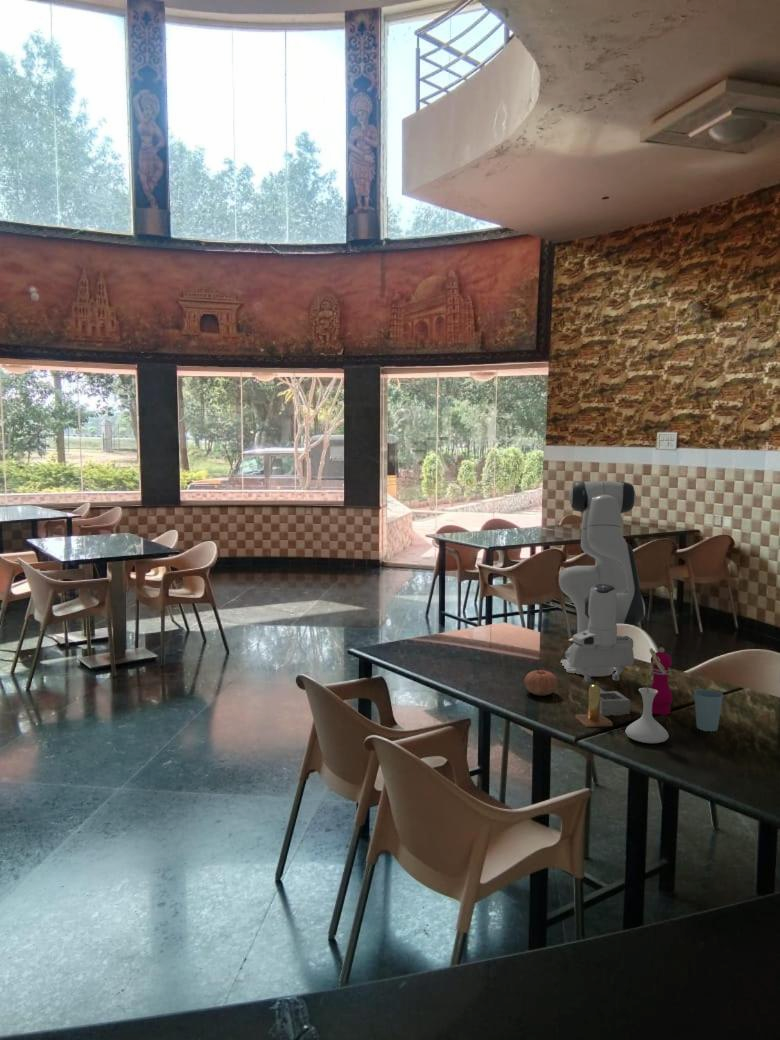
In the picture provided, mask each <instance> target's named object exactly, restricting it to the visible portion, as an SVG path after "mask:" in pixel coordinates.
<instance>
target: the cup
mask: <svg viewBox="0 0 780 1040" xmlns="http://www.w3.org/2000/svg"><path fill="white" fill-rule="evenodd" d="M693 696H694V706H695V707H694V709H695V721H696V722H695V723H696V728H697V729H698V730H699V729H700V731H702V730H703V731H702V732H707V731H711V732H710V733H715V732H717V731H718V729H719V722H720V717H721V711H722V703H723V699H724V698H723V697H724V693H722V692H721V691H717V690H713V689H707V688H706V689H704V688H702V689H695V690H694V691H693ZM712 731H713V732H712ZM714 731H715V732H714Z"/></svg>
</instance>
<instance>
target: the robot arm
mask: <svg viewBox="0 0 780 1040" xmlns="http://www.w3.org/2000/svg"><path fill="white" fill-rule="evenodd" d="M568 499H569V503H570V506H571V508H572V509H573V510H574V511H576V512H580V513H581V514H583V515H582V520H581V521H582V522H581V531H580V532H581V533H580V536H581V537H580V548H581V550H582V551H583V552H584V553H585V554H586V555H587V556H589V557H591V558H593V559H594V561H595V564H593V565H573V566H568V567H565V568H563V569H562V570H561V572H560V574H559V575H558V585H559V588H560V590H561V591H562V593H564V594H565V595H566V596H567V597H568V598H569V599H570V600H571V601H572V603H573V606H574V607H575V610H576V616H577V617H576V619H577V631H576V632H575V634H573V635H572V640H573V643H572V644H571V645H570V646H569V647H568V648H567V651H565V652H564V656H565V659H561V660H560V664H561V663H562V664H561V665H562V667H563V666H564V667H563V668H564V670H565V669H566V670H565V671H566V672H567V673H568V674H575V673H576V674H575V675H580V674H581V676H583V680H584V681H585V682H591V681H592V678H591V677H606V676H607V677H608V676H611V675H612V680H613V681H619V680H620V675H621V673H622V671H623V670H624V669H623V667H632V666H633V664H634V663H635V657H634V656H635V655H634V649H633V648H634V640H633V638H632V637H630V636H628V635H624V636H622V635H619V636H618V626H617V624H625V625H633V626H636V625H637V624H638V623H640V622H641V621H643V619H645V615H646V604H645V601H644V598H643V595H642V592H641V586H640V585H641V584H640V580H639V573H638V568H637V567H638V566H637V563H636V558H635V552H634V550H633V547H632V545H631V544H630V543H628V542H626V540H625V538H624V535H623V531H622V530H623V526H622V525H623V521H622V514H623V513H624V514H625V513H627V512H631V510H632V509H633V507H634V505H635V503H636V501H637V500H636V499H637V495H636V491H635V487H634V486H633V485H632V483H630V482H625V481H621V482H620V481H615V480H614V481H613V480H599V481H598V480H597V481H596V480H595V481H594V480H592V481H576V482H574V483H573V484H572V486H571V488H570V490H569V493H568ZM614 671H616V672H614Z"/></svg>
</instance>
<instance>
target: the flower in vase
mask: <svg viewBox="0 0 780 1040" xmlns="http://www.w3.org/2000/svg"><path fill="white" fill-rule="evenodd" d="M649 653H650V655H651V657H653V659H654V660H653V663H652V664H651V665H650V666H649V669H648V670H647V673H645V677H646V683H644V684H643V685H644V686H645V685H646V687H642V688H641V687H640V688H638V692H639V693H640V694H641V697H642V705H643V709H642V715H641V717H640V718H638V719H637V720H635V721H633V722H632V723H629V725H628V726H627V727H626V729H625V734H626V736H627V737H628V738H630V739H632V740H634V741H636V742H639V743H640V742H641V743H644V744H659V743H664V742H666V741H667V740H668V739H669V737H670V736H669V732H668V731H667V729H665V727H663V725H661V724H660V723H659V722H658V721H657V720H656V719H655V718H654V717H653V713H652V703H653V699H654V697H655V695H656V694H657V693H658V691H657V690H655V689H652V688H650V687H649V685H652V683H653V679H652V680H651V678H650V677H649V674H650V671H651V670H652V667H653V664H657V666H658V668H659V669H660V670H661V672H662V673H663V674H665V673H666V671H665V670H664V669H665V668H664V667H663V665H662V664H661V663H660V659H659V658H658V657H657V656H656V651H655V650H654V649H653V647H650V648H649Z"/></svg>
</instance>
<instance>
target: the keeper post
mask: <svg viewBox="0 0 780 1040" xmlns="http://www.w3.org/2000/svg"><path fill="white" fill-rule="evenodd" d="M590 685H591V686H590ZM590 685H589V688H588V705H587V706H588V711H587V713H584V714H583V713H581V714H574V715H575V716H574V717H575V718H574V719H576V720H577V719H578V720H579V721H578V720H577V721H578V722H580V723H581V724H582V725H583V726H584V725H585V726H584V727H586V728H596V727H612V726H613V724H614V723H613V722H614V721H613V722H612V721H611V720H610V719H609V718H608V717H607V716H604V715H602V714H601V713H600V688H601V687H600V686H599V685H597V684H595V685H592V684H590Z"/></svg>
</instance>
